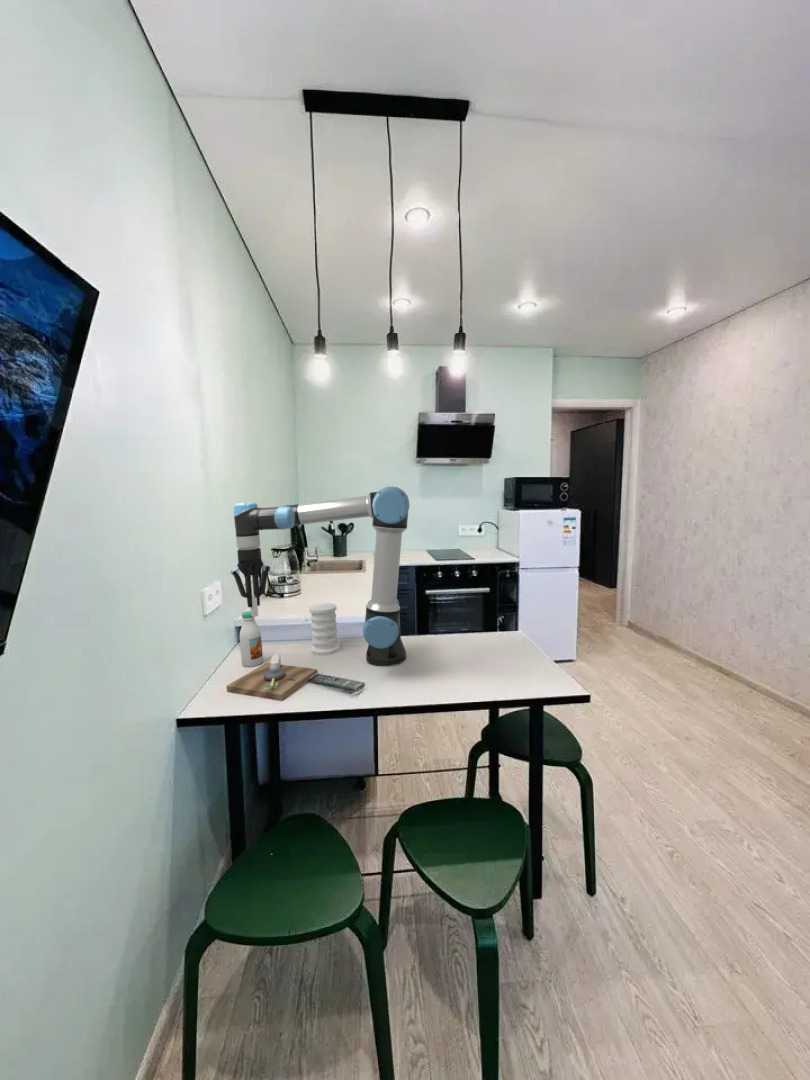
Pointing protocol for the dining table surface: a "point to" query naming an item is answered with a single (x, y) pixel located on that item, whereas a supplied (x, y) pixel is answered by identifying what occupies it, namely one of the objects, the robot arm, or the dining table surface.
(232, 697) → the dining table surface
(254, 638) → the milk bottle
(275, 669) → the tuning dial
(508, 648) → the dining table surface
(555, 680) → the dining table surface
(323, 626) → the decorative container
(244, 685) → the board
